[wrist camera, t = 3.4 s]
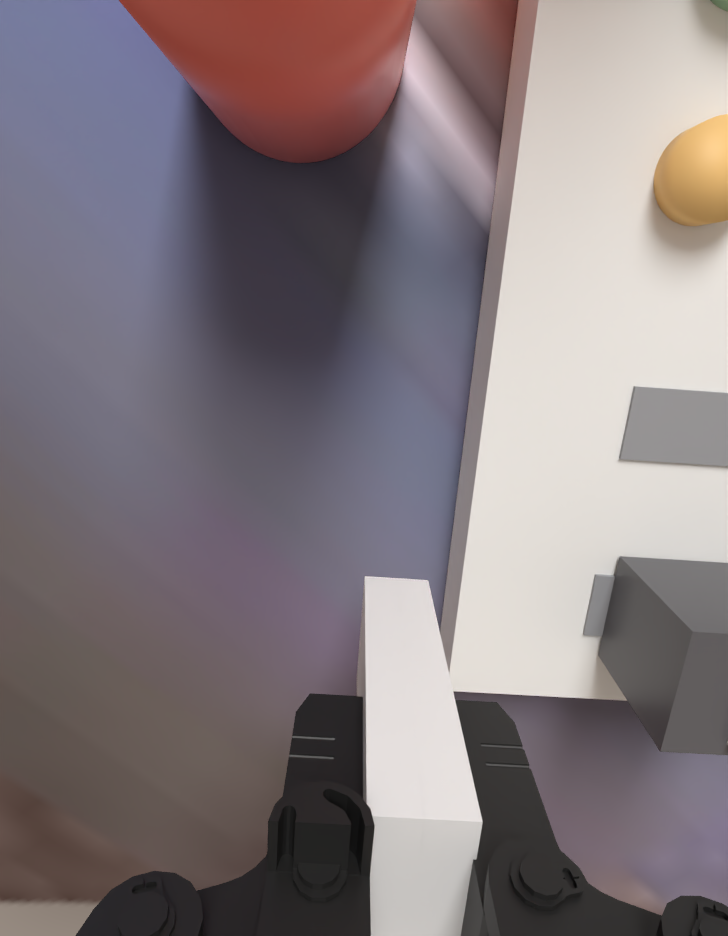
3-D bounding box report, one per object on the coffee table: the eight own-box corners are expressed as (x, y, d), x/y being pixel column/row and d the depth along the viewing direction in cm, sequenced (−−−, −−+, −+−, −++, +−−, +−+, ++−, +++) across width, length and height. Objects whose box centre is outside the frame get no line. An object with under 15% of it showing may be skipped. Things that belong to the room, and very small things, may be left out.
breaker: (597, 655, 16) (667, 762, 12) (619, 555, 15) (700, 639, 12) (740, 663, 16) (850, 771, 13) (770, 565, 15) (897, 651, 12)
